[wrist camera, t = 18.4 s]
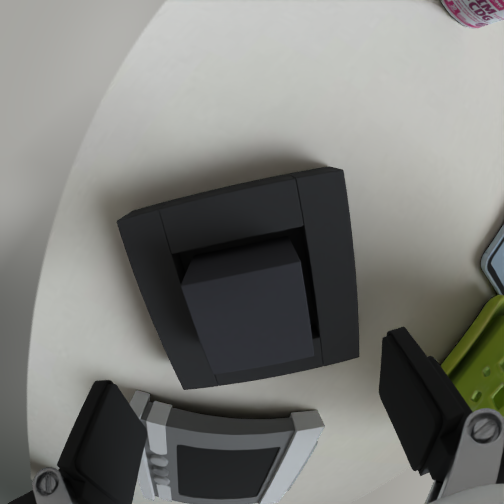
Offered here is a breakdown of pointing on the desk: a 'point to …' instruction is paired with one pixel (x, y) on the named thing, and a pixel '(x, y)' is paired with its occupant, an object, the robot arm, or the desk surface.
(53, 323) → the desk surface
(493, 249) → the smartphone
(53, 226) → the desk surface
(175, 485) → the alarm clock
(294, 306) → the dark grey square block
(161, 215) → the base pad
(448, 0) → the pill bottle
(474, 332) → the flower pot
